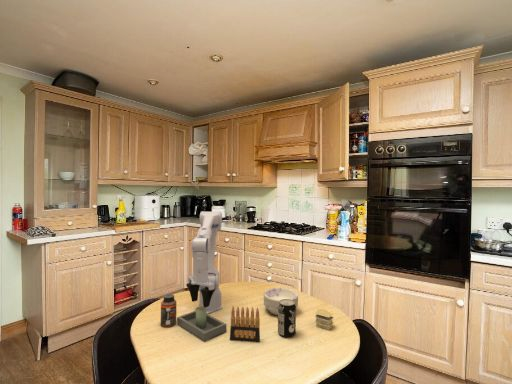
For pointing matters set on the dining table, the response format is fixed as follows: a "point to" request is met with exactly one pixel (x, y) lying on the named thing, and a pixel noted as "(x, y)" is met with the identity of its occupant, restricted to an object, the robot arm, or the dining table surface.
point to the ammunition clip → (245, 326)
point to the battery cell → (201, 317)
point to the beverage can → (286, 318)
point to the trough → (211, 330)
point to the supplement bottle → (168, 311)
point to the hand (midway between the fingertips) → (200, 303)
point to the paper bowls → (278, 298)
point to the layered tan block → (324, 319)
